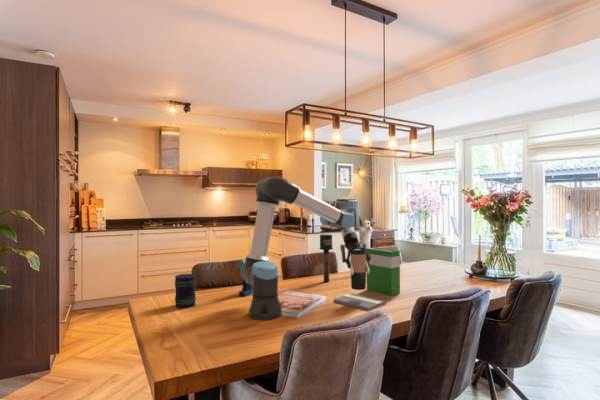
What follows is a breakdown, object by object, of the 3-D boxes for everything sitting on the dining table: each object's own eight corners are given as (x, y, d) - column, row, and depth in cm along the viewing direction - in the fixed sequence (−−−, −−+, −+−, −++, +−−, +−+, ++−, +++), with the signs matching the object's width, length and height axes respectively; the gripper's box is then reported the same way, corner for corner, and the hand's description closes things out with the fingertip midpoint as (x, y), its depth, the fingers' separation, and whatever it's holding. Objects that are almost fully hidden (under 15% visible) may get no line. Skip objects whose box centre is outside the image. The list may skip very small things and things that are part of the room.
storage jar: (200, 304, 178) (199, 275, 178) (184, 309, 170) (184, 278, 170) (186, 301, 183) (186, 273, 183) (170, 306, 175) (170, 276, 175)
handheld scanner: (235, 296, 192) (235, 260, 191) (252, 289, 206) (252, 256, 206) (242, 297, 189) (242, 261, 189) (259, 291, 204) (259, 257, 204)
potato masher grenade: (322, 283, 220) (321, 235, 220) (318, 280, 228) (317, 234, 228) (335, 282, 222) (334, 235, 222) (330, 279, 230) (329, 234, 230)
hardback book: (366, 289, 205) (366, 248, 205) (375, 287, 209) (374, 247, 209) (391, 295, 191) (391, 251, 191) (399, 293, 195) (399, 250, 195)
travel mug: (364, 286, 182) (363, 247, 182) (367, 289, 174) (367, 249, 174) (349, 286, 182) (349, 247, 182) (352, 290, 174) (351, 249, 174)
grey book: (368, 310, 165) (368, 306, 165) (334, 301, 180) (333, 298, 180) (385, 303, 176) (385, 300, 176) (351, 296, 191) (351, 292, 191)
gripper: (365, 240, 195) (377, 275, 179) (330, 241, 191) (339, 277, 175) (369, 231, 190) (382, 267, 174) (333, 232, 186) (342, 269, 170)
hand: (360, 272), depth 175 cm, fingers closed on travel mug, 7 cm apart
